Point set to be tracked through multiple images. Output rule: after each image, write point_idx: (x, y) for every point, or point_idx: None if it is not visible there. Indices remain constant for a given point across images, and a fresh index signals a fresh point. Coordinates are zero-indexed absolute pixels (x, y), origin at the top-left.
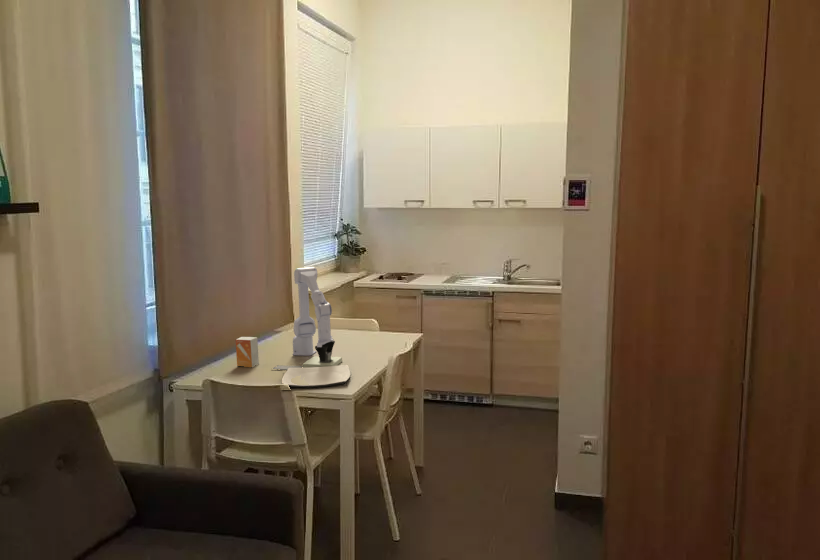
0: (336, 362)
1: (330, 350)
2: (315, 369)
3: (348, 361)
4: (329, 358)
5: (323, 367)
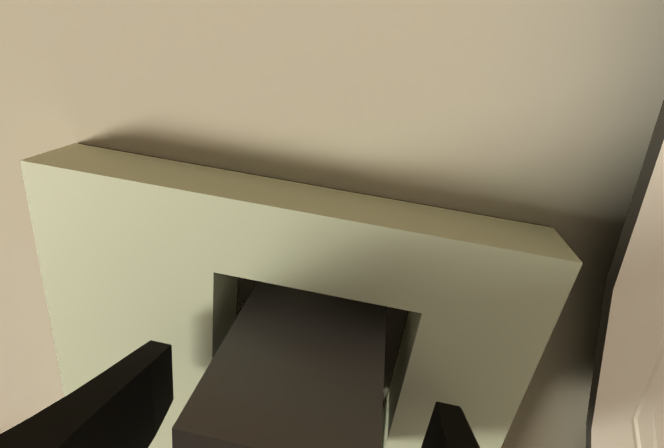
0: (319, 206)
1: (84, 444)
2: (652, 445)
3: (56, 33)
4: (303, 356)
5: (622, 365)
